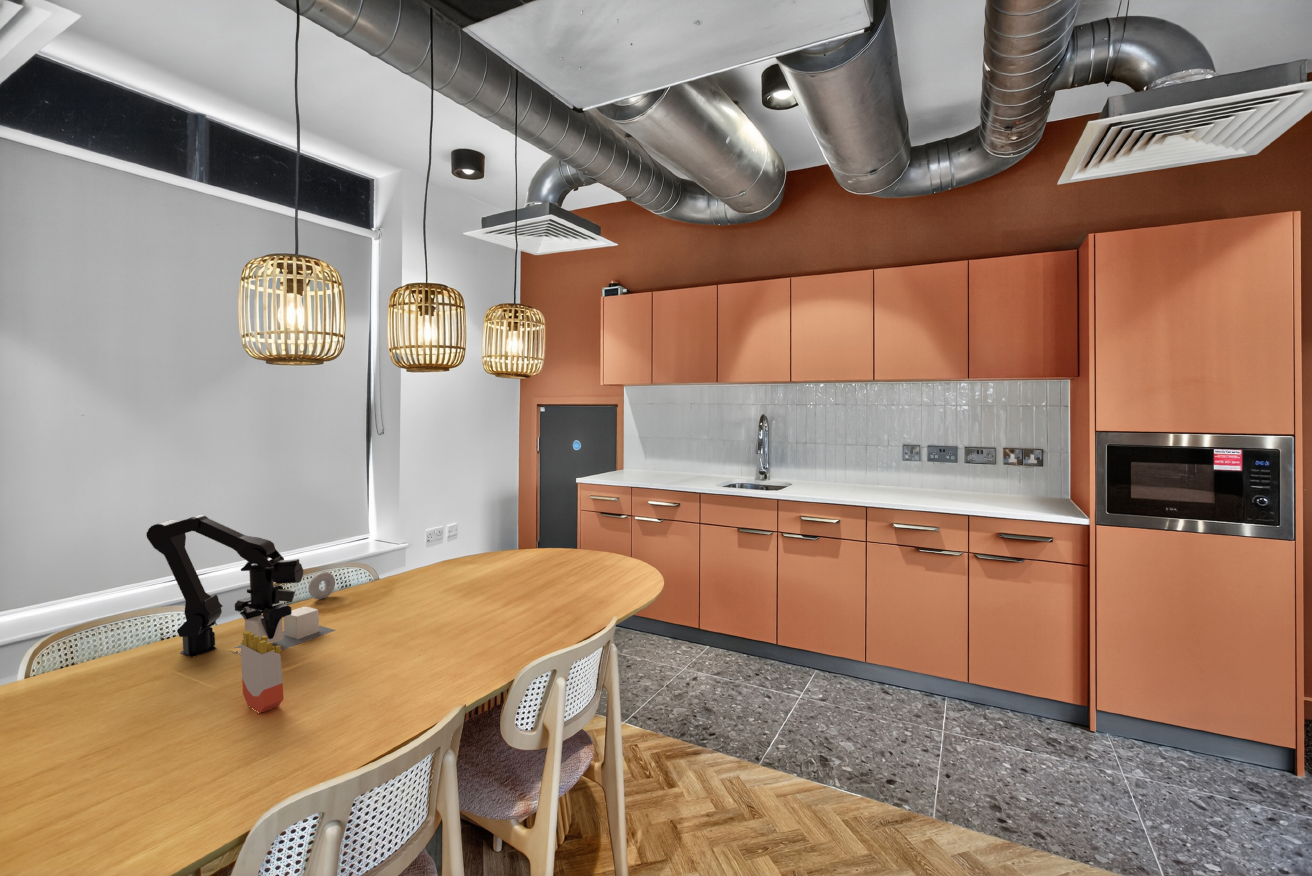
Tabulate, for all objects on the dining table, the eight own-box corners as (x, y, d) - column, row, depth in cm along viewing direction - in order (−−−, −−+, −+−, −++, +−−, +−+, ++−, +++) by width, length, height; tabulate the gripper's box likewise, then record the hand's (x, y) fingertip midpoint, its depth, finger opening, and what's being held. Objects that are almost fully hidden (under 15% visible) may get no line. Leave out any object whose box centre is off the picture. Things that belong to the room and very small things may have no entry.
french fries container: (264, 695, 144) (260, 624, 143) (285, 708, 138) (282, 634, 137) (243, 703, 141) (239, 630, 139) (264, 717, 135) (260, 640, 133)
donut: (313, 603, 210) (312, 576, 210) (306, 602, 211) (305, 575, 211) (337, 595, 219) (336, 568, 219) (331, 594, 221) (330, 567, 220)
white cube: (258, 647, 168) (257, 623, 168) (245, 643, 171) (244, 619, 171) (282, 639, 174) (281, 616, 174) (269, 635, 177) (268, 612, 177)
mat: (255, 660, 164) (254, 659, 164) (227, 651, 170) (227, 650, 170) (336, 630, 185) (336, 629, 185) (308, 623, 192) (308, 622, 192)
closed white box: (297, 639, 178) (296, 616, 178) (284, 635, 181) (283, 612, 181) (319, 631, 184) (318, 609, 184) (306, 627, 187) (305, 606, 187)
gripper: (308, 581, 175) (310, 632, 176) (271, 572, 183) (273, 621, 184) (269, 592, 165) (271, 646, 166) (232, 582, 173) (235, 634, 174)
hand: (264, 636), depth 173 cm, fingers closed on white cube, 7 cm apart
